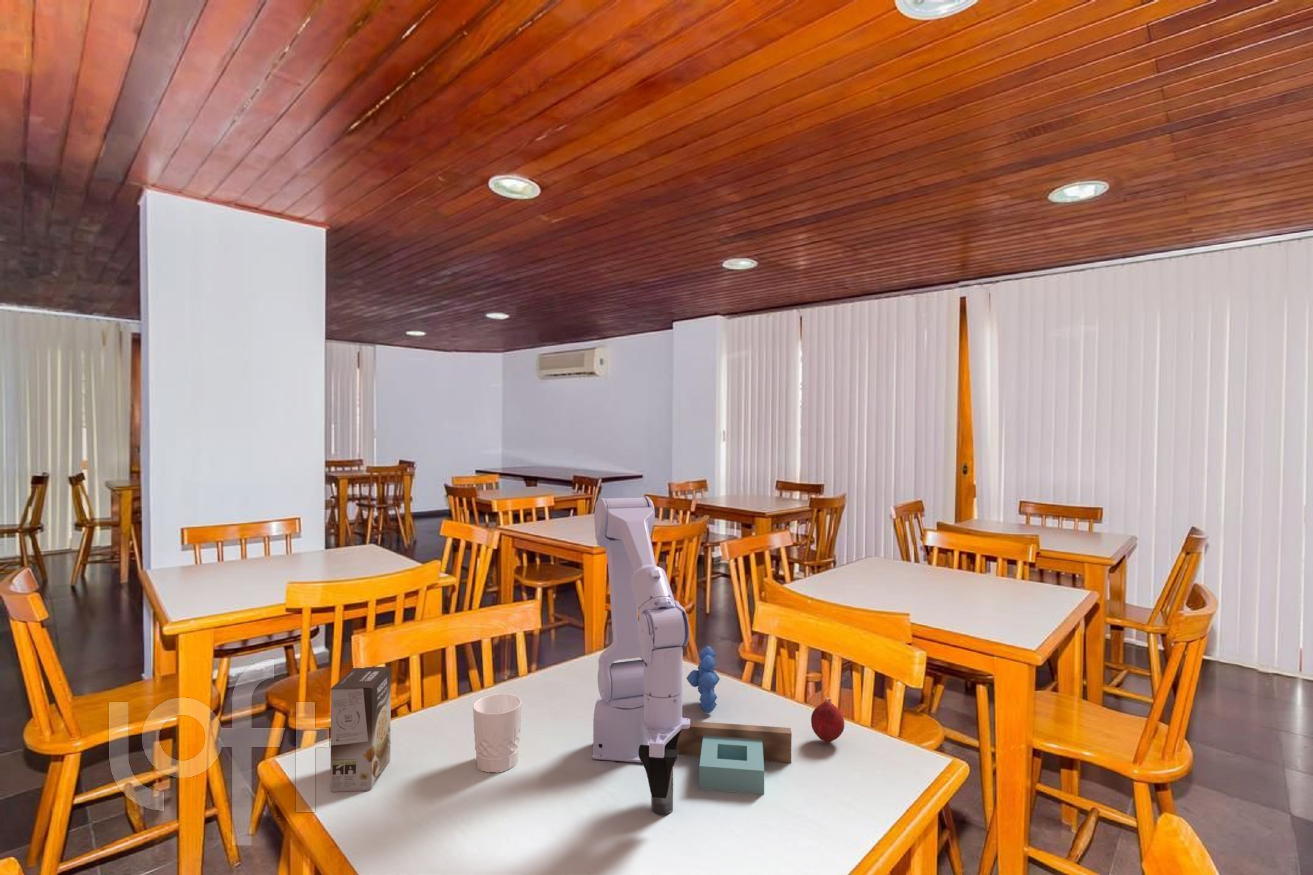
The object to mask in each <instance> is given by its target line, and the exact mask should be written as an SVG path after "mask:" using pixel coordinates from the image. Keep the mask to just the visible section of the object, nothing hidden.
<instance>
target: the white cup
mask: <svg viewBox="0 0 1313 875" xmlns="http://www.w3.org/2000/svg"><path fill="white" fill-rule="evenodd" d="M472 711H473V712H472V713H473V714H472V716H473V734H474V750H475V753H476V754H475V755H476V757H475V758H476V760H475V761H476V766H477V769H479V770H480V771H482V772H484V771H485V772H484V773H489V772H496V773H502V772H505V771H507V770H506V769H509V770H510V769H512V768H513V767H515V766H516V765H517V762H519V746H520V740H521V739H520V738H521V737H520V736H521V735H520V733H521V721H522V720H521V718H522V716H521V715H522V699H521V698H520V697H519V696H517V695H514V694H510V693H509V694H508V693H496V694H489V695H486V696H483V697H481V698H479V699H478V700H476V701H475V702H474V703H473V706H472ZM501 771H502V772H501Z"/></svg>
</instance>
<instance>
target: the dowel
mask: <svg viewBox="0 0 1313 875" xmlns="http://www.w3.org/2000/svg"><path fill="white" fill-rule="evenodd" d="M650 795H651V794H650ZM650 798H651V800H650V801H651V802H650V804H651V805H650V807H651V808H650V809H651V812H652V813H653V814H654V815H657V816H663V817H665V816H668V815H670V814H671V813H673V811H674V767H673V768H672V771H671V776H670V782H669V788H668V793H667V797H666V798H654V797H652V795H651V797H650Z"/></svg>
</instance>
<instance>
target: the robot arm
mask: <svg viewBox="0 0 1313 875" xmlns="http://www.w3.org/2000/svg"><path fill="white" fill-rule="evenodd" d="M593 514H594V516H593V517H594V518H593V519H594V532H595V533H594V534H595V540H596V544H597V546H599V547H602V548H603V549H605V554H606V560H607V570H608V586H609V599H610V600H609V601H610V614H611V628H612V642H611V644H610V645H608V646H607V647H606V649H604V650H603V651H602V652H601V653H600V655H599V657H598V670H597V684H598V685H597V688H598V694H599V696H600V697H598V698H597V699H596V702H595V706H594V711H593V721H592V722H593V724H592V725H593V727H592V728H593V734H592V737H593V739H592V740H593V741H592V742H593V744H592V745H593V746H592V747H593V749H592V752H593V753H592V755H591V756H592V759H593V760H603V761H604V760H605V761H616V762H617V761H619V762H628V763H629V762H630V763H642V766H643V767H644V770H645V773H646V777H647V782H648V786H649V790H650V795H652V797H654V798H666V797H667V793H668V788H669V782H670V776H671V771H672V768H673V769H674V765H675V764H676V762H677V761H678V757H679V755H680V754H679V750H676V746H677V741H678V738H679V735H680V733H681V731H682V729H688V728H689V727H690V721H691V719H690V718H689V717H688V718H687V717H683V647H686V646H687V645H688V643H689V640H690V623H689V618H688V614H687V612H686V610H685V608H684V607H683V606H682V605H681V604H680V602H679V601H678V600H675V598H674V595H673V592H672V588H671V586H670V582H669V580H668V577H667V573H666V571H665V569H664V568H662V567H659V566H657V565H656V559H655V558H656V557H655V555H654V549H653V543H652V538H651V535H652V532H653V528H654V525H655V522H656V521H655V519H656V512H655V506H654V502H653V501H652V499H651V498H650V497H649V496H642V497H617V498H616V497H614V498H613V497H612V498H611V497H610V498H605V497H600V498H598V500H597V501H596V502H595V506H594V513H593ZM682 646H683V647H682ZM628 659H629V660H628ZM630 659H635V660H630ZM621 660H622V661H621ZM623 660H627V661H623ZM616 661H617V662H616ZM618 661H619V662H618Z"/></svg>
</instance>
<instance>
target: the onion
mask: <svg viewBox="0 0 1313 875" xmlns="http://www.w3.org/2000/svg"><path fill="white" fill-rule="evenodd" d="M811 713H812V714H811V716H810V723H811V728H812V731H813V732H814V734H815V735H816V736H817V737H818V738H819V739H820V740H821V741H823V742H824V743H826V744H830V743H832V742H833V741H835V740H837V739H838V738H840V736H841V735H842V734H843V732H844V730H845V719H844V716H843V712H841V710H840V709H839V708H838V707H837V706H836V705H835V704H833V703H832V699H831V698H830V697H825V699H824V701H823V702H821V703H820V704H818V705H817V706H816V707H815V708H814V710H813V711H812V712H811Z"/></svg>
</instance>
